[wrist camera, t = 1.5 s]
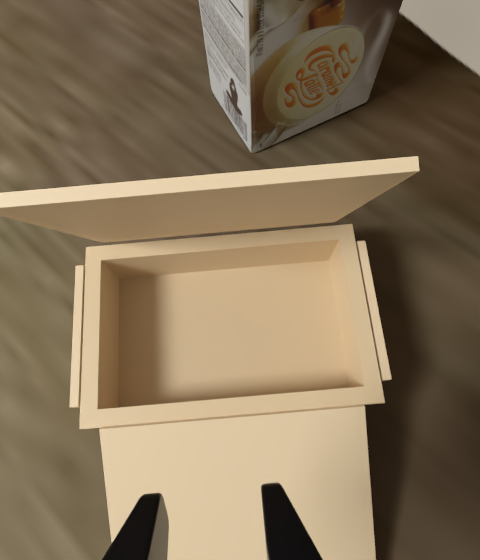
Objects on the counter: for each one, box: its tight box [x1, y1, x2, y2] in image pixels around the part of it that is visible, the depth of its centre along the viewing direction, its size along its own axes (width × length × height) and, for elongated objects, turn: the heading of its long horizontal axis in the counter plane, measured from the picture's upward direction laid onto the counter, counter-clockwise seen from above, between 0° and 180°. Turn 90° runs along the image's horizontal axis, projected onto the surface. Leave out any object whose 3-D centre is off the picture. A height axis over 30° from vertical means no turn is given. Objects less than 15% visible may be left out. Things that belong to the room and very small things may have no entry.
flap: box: [0, 156, 419, 243], centre depth 16 cm, size 10×12×1 cm
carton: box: [70, 224, 392, 560], centre depth 20 cm, size 18×15×4 cm
